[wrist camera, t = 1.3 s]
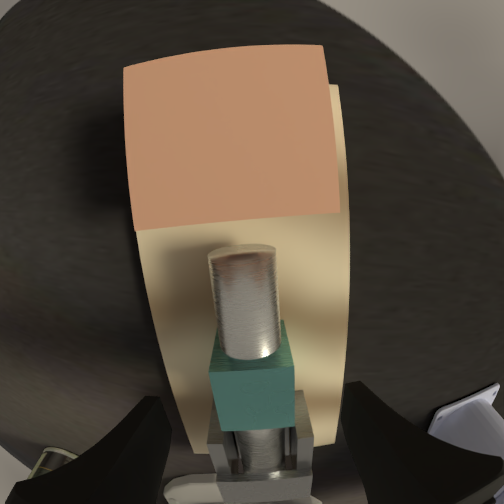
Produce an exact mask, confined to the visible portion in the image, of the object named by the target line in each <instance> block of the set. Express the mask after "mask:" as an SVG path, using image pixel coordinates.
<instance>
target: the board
mask: <svg viewBox="0 0 504 504" xmlns="http://www.w3.org/2000/svg"><path fill="white" fill-rule="evenodd" d="M329 90H330V97H331V105H332V113H333V122H334V131H335V141H336V152H337V165H338V179H339V196H340V213H327V214H312V215H298V216H284V217H272V218H259V219H248V220H236V221H226V222H215V223H205V224H195V225H185V226H176V227H167V228H158V229H149V230H140V231H136V234H137V241H138V247H139V253H140V259H141V264H142V270H143V275H144V280H145V285H146V290H147V295H148V300H149V304H150V309H151V313H152V318H153V322H154V326H155V330H156V334H157V338H158V342H159V346H160V350H161V353H162V357H163V361H164V364H165V368H166V371H167V375H168V378H169V381H170V385H171V388H172V391H173V394H174V398H175V401H176V404H177V407H178V410H179V413H180V416H181V419H182V422H183V424H184V427H185V430H186V433H187V436H188V438H189V441H190V444H191V446H192V449H193V451H194V453H198V454H210V453H209V450H208V447H207V437H208V430H209V423H210V416H211V409H212V402H213V392H212V387H211V383H210V378H209V373H208V371H209V366H210V361H211V356H212V351H213V346H214V341H215V336H216V331H217V321H216V315H215V308H214V301H213V294H212V287H211V279H210V272H209V264H208V256H207V255H208V254H209V253H210V252H211V251H213V250H216V249H219V248H222V247H227V246H232V245H240V244H265V245H270V246H273V247H275V248H276V258H277V274H278V290H279V308H280V320H284V324H285V328H286V332H287V337H288V341H289V345H290V349H291V354H292V358H293V362H294V370H295V391H296V390H303V392H304V396H305V400H306V404H307V408H308V413H309V417H310V421H311V425H312V430H313V434H314V445H313V447H315V446H321V445H327V444H333V443H335V437H336V431H337V424H338V418H339V410H340V403H341V395H342V386H343V377H344V367H345V356H346V343H347V328H348V309H349V279H350V230H349V199H348V180H347V165H346V153H345V142H344V132H343V122H342V114H341V106H340V98H339V91H338V85H329ZM234 434H235V433H234ZM235 439H236V438H235ZM236 444H237V443H236ZM237 448H238V447H237ZM289 450H290V427H289ZM238 453H239V452H238Z"/></svg>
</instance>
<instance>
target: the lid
mask: <svg viewBox="0 0 504 504" xmlns="http://www.w3.org/2000/svg"><path fill="white" fill-rule="evenodd" d="M216 475H217V474H215V473H213V474H190V475H186V476H183V477H179V478H175V479H173V480H172V481H170V482H169V483H168V484H167V485H166V486H165V488H164V492H163V495H164V496H165V498H166V500H167V501H168V503H169V504H322V502H321V501H319V500H318V499H316V498H314V497H313V496H311V495H310V497H307V498H300V499H291V500H282V501H270V502H252V503H224V501H223V499H222V496H221V494H220V491H219V489H218V486H217V483H216Z"/></svg>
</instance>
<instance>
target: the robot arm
mask: <svg viewBox="0 0 504 504" xmlns="http://www.w3.org/2000/svg"><path fill="white" fill-rule="evenodd" d="M499 387H500V385H499V384H498V383H496V384H494V385H492V386H490V387H488V388H486V389H484V390H482V391H480V392H477V393H475V394H473V395H471V396H469V397H466V398H464V399H462V400H459V401H457V402H455V403H452V404H450V405H447V406H445V407H442V408H440V409H438V410H437V411H436V413H435V415H434V418H433V420H432V422H431V425H430V427H429V429H428V432H425V431H423V430H421V429H420V428H418V427H416V426H415V425H413V424H412V423H410V422H409V421H407V420H406V419H405V418H403V417H402V416H401V415H399V414H398V413H397V412H395V411H394V410H393V409H392V408H390V407H389V406H388V405H387V404H386V403H384V402H383V401H382V400H381V399H380V398H379V397H378V396H376V395H375V394H374V393H373V392H372V391H371V390H370V389H369V388H368V387H367V386H365V385H364V384H363V383H362V382H361V381H356V382H351V383H346V384H345V390H344V398H343V405H342V412H341V422H342V426H343V430H344V434H345V438H346V441H347V444H348V446H349V449H350V451H351V454H352V456H353V459H354V461H355V464H356V466H357V469H358V471H359V474H360V476H361V479H362V482H363V485H364V488H365V492H366V496H367V500H368V504H504V420H503V419H502V417H501V416H500V415H499V414H498V413H497V412H496V410H495V409H494V408H493V407H492V406H491V405H492V403H493V401H494V398H495V396H496V394H497V392H498V390H499ZM171 433H172V429H171V426H170V424H169V421H168V419H167V416H166V413H165V411H164V408H163V405H162V402H161V400H160V397H157V396H145V397H144V398H143V399H142V400H141V401H140V402H139V403H138V404H137V405H136V406H135V407H134V408H133V409H132V410H131V411H130V412H129V413H128V415H127V416H126V417H125V418H124V419H123V420H122V421H121V422H120V423H119V424H118V425H117V426H116V427H115V428H114V429H113V430H111V431H110V432H109V433H108V434H107V435H106V436H105V437H104V438H102V439H101V440H100V441H99V442H98V443H97V444H95V445H94V446H93V447H91V448H90V449H89V450H87V451H86V452H84V453H83V454H82V455H80V456H78V457H77V458H75V459H73V460H72V461H70V462H68V463H66V464H65V465H63V466H61V467H59V468H57V469H55V470H52V471H50V472H48V473H45V474H43V475H40V476H37V477H34V478H30V479H27V480H24V481H20V482H16V484H15V485H14V487H13V489H12V491H11V492H10V494H9V496H8V498H7V500H6V502H5V504H156V499H157V494H158V490H159V486H160V483H161V479H162V475H163V472H164V468H165V465H166V461H167V457H168V453H169V449H170V442H171Z"/></svg>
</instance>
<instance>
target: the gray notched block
mask: <svg viewBox="0 0 504 504" xmlns="http://www.w3.org/2000/svg"><path fill="white" fill-rule="evenodd" d="M234 433H235V434H234ZM235 438H236V439H235ZM236 443H237V444H236ZM313 445H314V434H313V430H312V425H311V421H310V417H309V413H308V408H307V404H306V400H305V396H304V392H303V390H296V391H295V426H294V427H290V453H291V460H292V468H293V470H287V471H277V472H264V473H245V474H238V458H239V457H240V459H241V455H240V450H239V445H238V440H237V435H236V431H222V430H221V426H220V422H219V418H218V414H217V410H216V405H215V401H214V396H213V402H212V409H211V416H210V423H209V430H208V437H207V447H208V450H209V453H210V456H211V459H212V462H213V465H214V468H215V471H216V474H217V475H216V483H217V486H218V489H219V491H220V494H221V496H222V499H223V501H224V503H252V502H270V501H282V500H291V499H300V498H307V497H310V493H311V486H312V478H313V474H312V468H311V465H312V455H313ZM237 447H238V448H237ZM238 452H239V453H238ZM286 455H289V427H285V456H286Z"/></svg>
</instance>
